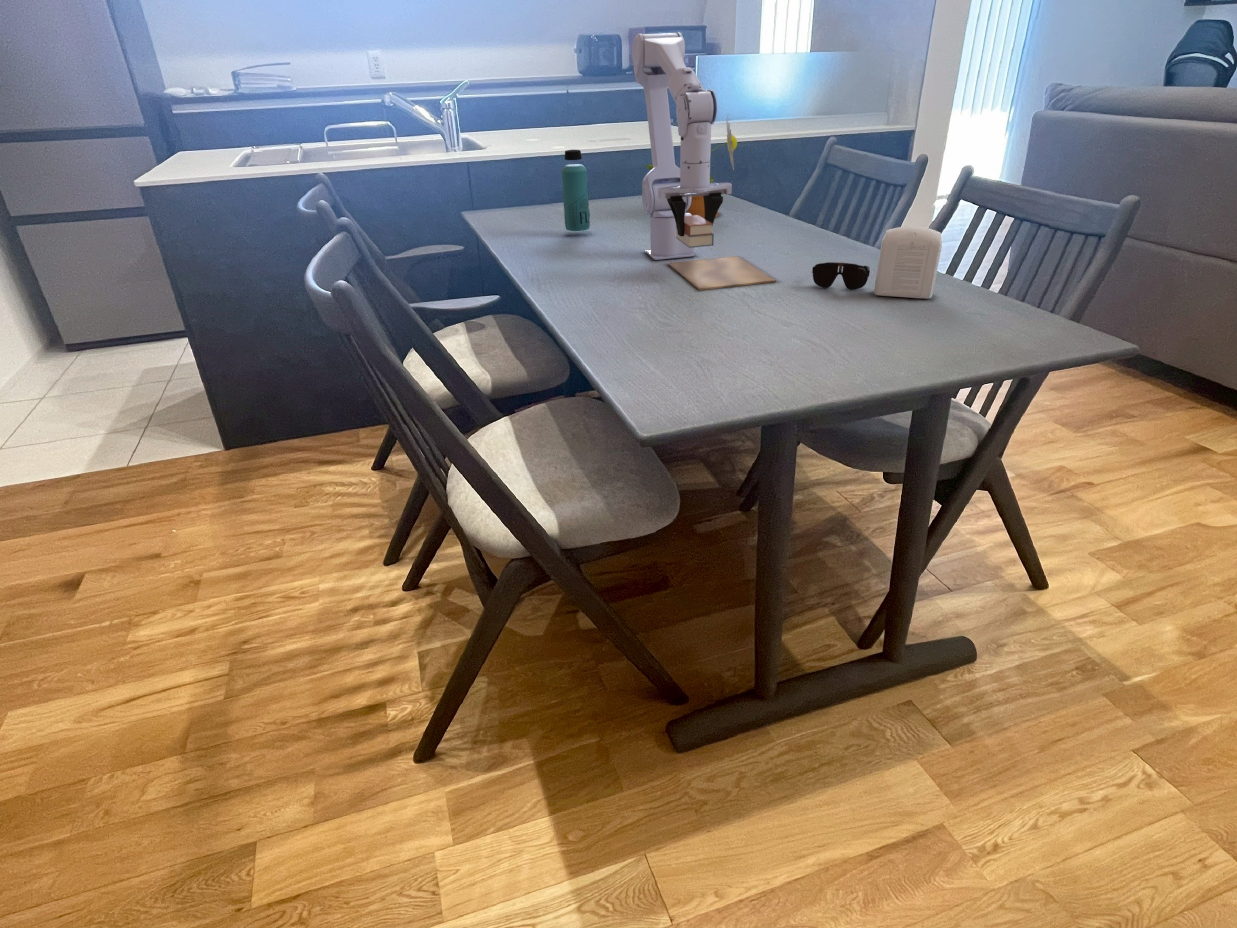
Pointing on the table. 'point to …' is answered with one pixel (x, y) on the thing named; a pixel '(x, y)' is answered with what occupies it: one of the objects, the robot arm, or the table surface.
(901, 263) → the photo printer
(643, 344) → the table surface
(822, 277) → the sunglasses
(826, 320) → the table surface
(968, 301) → the table surface
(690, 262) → the cork mat
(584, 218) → the beverage bottle
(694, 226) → the book stack
